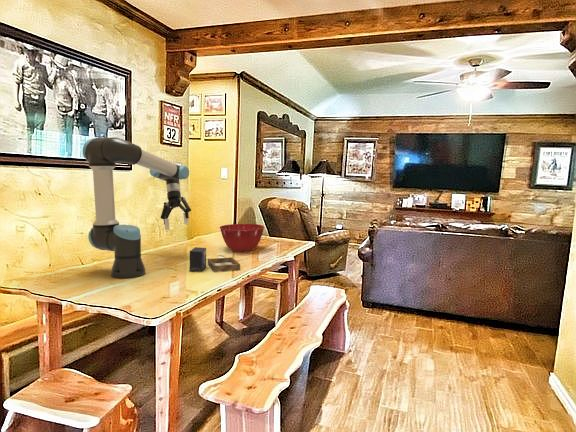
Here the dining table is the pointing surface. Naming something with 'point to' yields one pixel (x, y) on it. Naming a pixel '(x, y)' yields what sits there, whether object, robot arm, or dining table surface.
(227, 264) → the walnut tray
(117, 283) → the dining table surface
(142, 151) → the robot arm
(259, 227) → the mixing bowl
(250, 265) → the dining table surface
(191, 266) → the small box
